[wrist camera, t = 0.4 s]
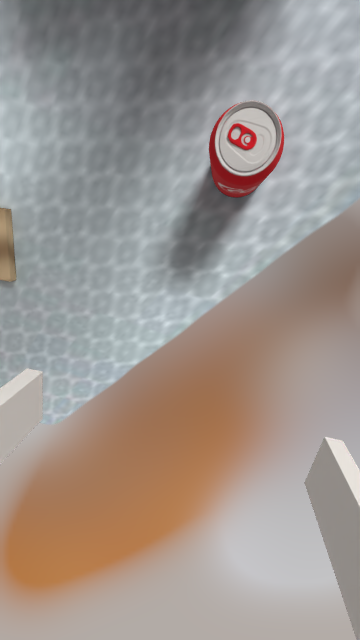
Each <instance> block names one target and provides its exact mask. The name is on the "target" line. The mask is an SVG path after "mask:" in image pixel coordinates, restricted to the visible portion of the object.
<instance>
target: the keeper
mask: <svg viewBox="0 0 360 640" xmlns="http://www.w3.org/2000/svg"><path fill="white" fill-rule="evenodd" d="M0 280H5V281H14V280H16V271H15V257H14V244H13V230H12V217H11V209H5V208H0Z"/></svg>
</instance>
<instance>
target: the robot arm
mask: <svg viewBox="0 0 360 640" xmlns="http://www.w3.org/2000/svg"><path fill="white" fill-rule="evenodd" d="M42 419H43V372H41V371H37V370H33V369H28V368H27V369H26V370H24V371H23V372H22V373H20V374H19V375H17V376H16V377H15V378H13V379H12V380H11V381H9V382H8V383H7V384H5V385H4V386H2V387H1V388H0V464H1V463H2V462H3V461H4V460H5V459H6V458H7V457H8V456H9V455H10V453H11V452H12V451H13V450H14V449H15V448H16V447H17V446H18V445H19V444H20V443H21V442H22V441H23V439H24V438H25V437H26V436H27V435H28V434H29V433H30V432H31V431H32V430H33V429H34V428H35V426H36V425H37V424H38V423H39V422H40V421H41V420H42ZM305 486H306V489H307V492H308V495H309V498H310V500H311V504H312V507H313V510H314V512H315V516H316V519H317V521H318V525H319V528H320V531H321V534H322V537H323V540H324V543H325V546H326V549H327V552H328V555H329V558H330V561H331V564H332V567H333V570H334V573H335V576H336V579H337V582H338V585H339V588H340V591H341V594H342V597H343V600H344V603H345V606H346V609H347V612H348V615H349V618H350V621H351V624H352V627H353V630H354V633H355V636H356V639H357V640H360V470H359V469H358V467H357V466H356V463H355V462H354V460H353V459H352V457H351V455H350V453H349V451H348V450H347V448H346V446H345V444H344V443H343V441H341V440H336V439H332V438H328V437H324V439H323V442H322V444H321V447H320V449H319V451H318V453H317V455H316V458H315V460H314V462H313V464H312V467H311V469H310V471H309V474H308V476H307V478H306V480H305Z"/></svg>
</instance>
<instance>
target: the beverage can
mask: <svg viewBox="0 0 360 640" xmlns="http://www.w3.org/2000/svg"><path fill="white" fill-rule="evenodd" d="M283 146H284V132H283V127H282V124H281V121H280V119H279V117H278V116H277V114H276V113H275V112H274V111H273V110H272V109H271V108H270V107H269V106H268V105H266V104H264V103H262V102H259V101H245V102H242V103H239V104H236V105H234V106H232V107H231V108H229V109H228V110H227V111H226V112H224V113H223V114H222V116H221V117H220V118H219V119H218V121H217V122H216V124H215V126H214V128H213V131H212V133H211V137H210V142H209V154H210V162H211V170H212V177H213V181H214V183H215V185H216V187H217V188H218V189H219V190H220V191H221V192H222V193H223V194H225V195H227V196H230V197H243V196H246V195H248V194H250V193H251V192H253V191H254V190H255V189H256V188H257V187H258V186H259V185H260V184H261V183H262V182H263V181H264V180H265V178H266V177H267V176H268V175H269V174H270V173H271V172H272V171H273V170H274V168H275V167H276V165H277V164H278V162H279V160H280V157H281V154H282V151H283Z"/></svg>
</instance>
